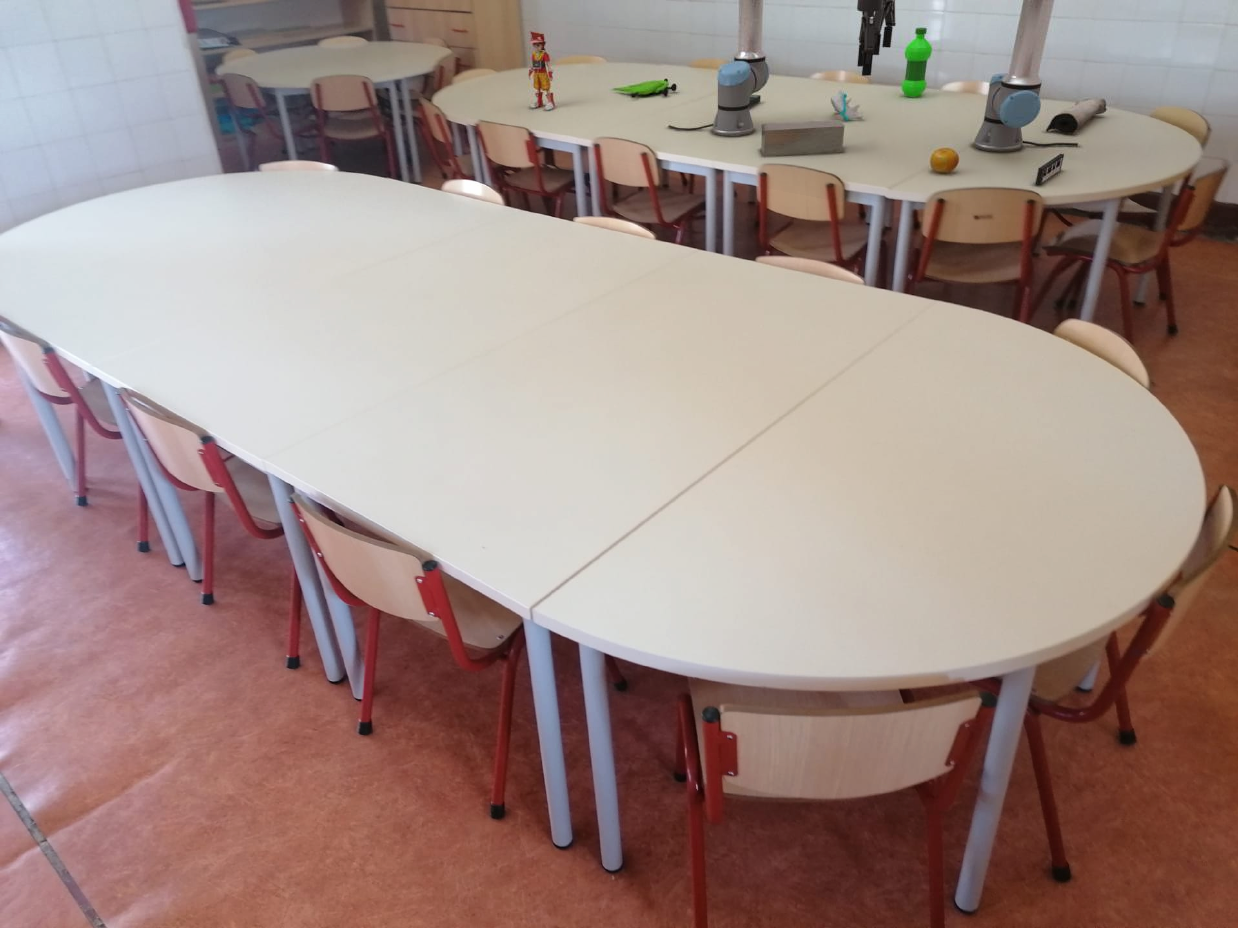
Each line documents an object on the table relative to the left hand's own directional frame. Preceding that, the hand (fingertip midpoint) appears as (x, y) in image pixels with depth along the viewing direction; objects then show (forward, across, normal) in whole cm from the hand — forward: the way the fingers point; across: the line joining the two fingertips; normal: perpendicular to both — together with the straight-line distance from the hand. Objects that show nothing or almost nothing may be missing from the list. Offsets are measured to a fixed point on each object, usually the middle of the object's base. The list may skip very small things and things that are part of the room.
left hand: (880, 51), depth 308 cm
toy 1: (+28, -4, +141) cm, 144 cm away
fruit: (+28, -35, -34) cm, 56 cm away
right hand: (0, -32, -4) cm, 33 cm away
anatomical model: (+28, +20, +17) cm, 38 cm away
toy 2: (+28, +33, +114) cm, 122 cm away
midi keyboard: (+28, -31, -64) cm, 76 cm away
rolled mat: (+28, +35, -63) cm, 78 cm away
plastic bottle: (+28, +60, +1) cm, 66 cm away
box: (+28, -28, +16) cm, 43 cm away
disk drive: (+28, +25, +62) cm, 72 cm away
